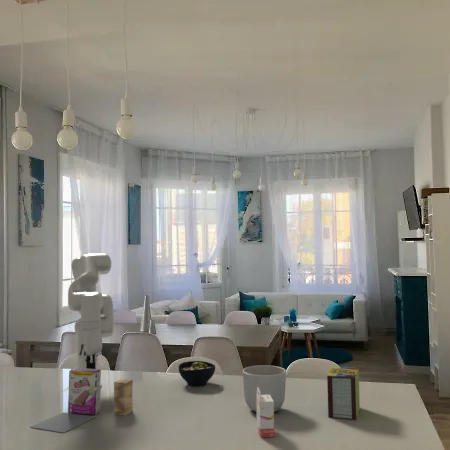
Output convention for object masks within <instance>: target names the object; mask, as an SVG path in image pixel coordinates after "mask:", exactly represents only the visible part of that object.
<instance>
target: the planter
mask: <svg viewBox="0 0 450 450" xmlns="http://www.w3.org/2000/svg"><path fill="white" fill-rule="evenodd" d="M286 378H287V370H286V368H283V367H280V366H278V365H277V366H275V365H266V364H265V365H263V364H262V365H252V366H248V367H247V366H246V367H244V368H243V369H242V383H243V395H244V401H245V404H246V405H247V407H248V408H249V409H250V410H252V412H255V413H257V387H258V388H259V390H260V392H261V395H270V396H271V398H272V399H273V401H274V413H276V412H277V411H279V410H280V409H281V408H282V407H283V405H284V403H285V399H286V381H287V379H286ZM258 394H259V392H258Z"/></svg>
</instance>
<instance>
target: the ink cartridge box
mask: <svg viewBox="0 0 450 450" xmlns="http://www.w3.org/2000/svg"><path fill="white" fill-rule="evenodd" d="M258 392H259V394H258ZM274 415H275V412H274V401H273V399H272V398H271V396H270V395H261V392H260V390H259V388H258V387H257V412H256V430H257V432H258V434H259V436H260V437H259V438H274V437H275V416H274Z"/></svg>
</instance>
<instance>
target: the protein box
mask: <svg viewBox="0 0 450 450" xmlns="http://www.w3.org/2000/svg"><path fill="white" fill-rule="evenodd" d="M359 376H360V368H359V367H354V366H353V367H352V366H351V367H349V366H338V365H337V366H335V365H333V366H331V368H330V369H329V370H328V373H327V374H326V379H327V413H328V414H327V415H328V418H330V419H331V418H332V419H342V420H343V419H345V420H354V421H355V420H356V421H357V420H358V416H359V411H360V408H361V406H360V403H361V402H360V400H361V399H360V377H359Z"/></svg>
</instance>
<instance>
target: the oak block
mask: <svg viewBox="0 0 450 450" xmlns="http://www.w3.org/2000/svg"><path fill="white" fill-rule="evenodd" d="M131 411H132V412H133V380H132V379H127V378H126V379H125V378H121V379H118V380H116V381H113V413H114V415H120V414H121V416H127V415H128V414H131V413H132V412H131Z"/></svg>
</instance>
